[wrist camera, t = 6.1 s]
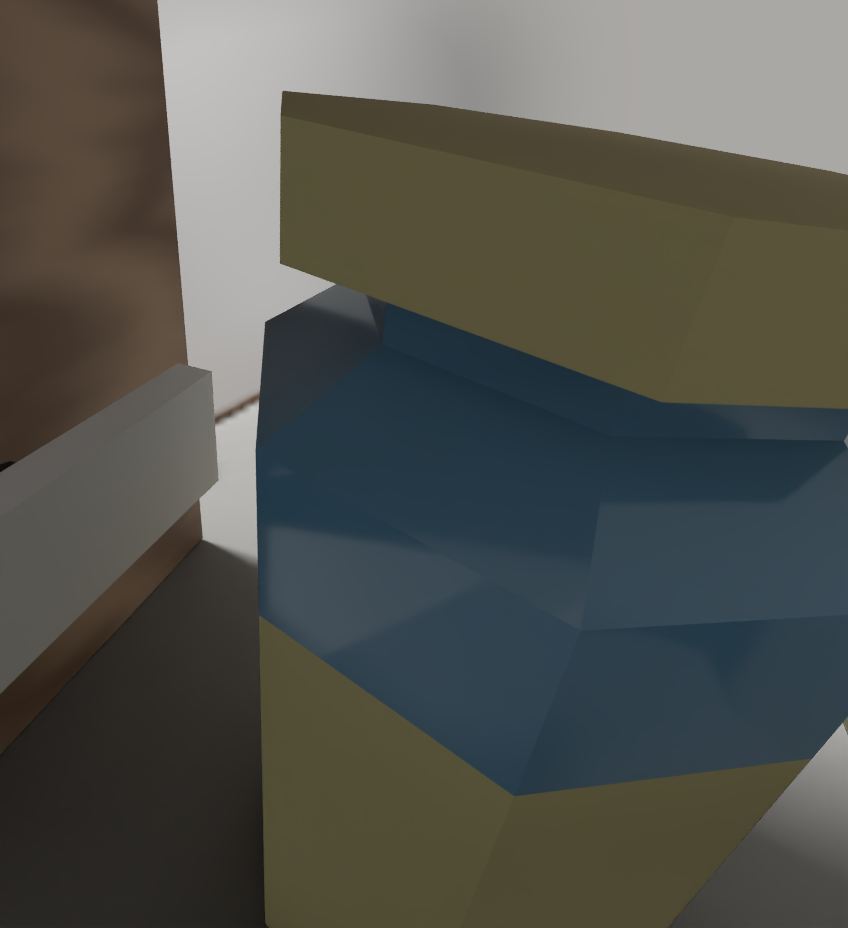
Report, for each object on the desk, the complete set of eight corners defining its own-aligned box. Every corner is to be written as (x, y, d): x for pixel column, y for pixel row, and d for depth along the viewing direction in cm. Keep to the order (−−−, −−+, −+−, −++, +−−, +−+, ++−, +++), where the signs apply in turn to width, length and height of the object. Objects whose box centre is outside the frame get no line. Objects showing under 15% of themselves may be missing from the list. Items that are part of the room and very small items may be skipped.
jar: (616, 713, 18) (889, 177, 10) (651, 1159, 11) (1860, 423, 3) (328, 638, 19) (368, 90, 11) (169, 998, 12) (-78, 79, 3)
